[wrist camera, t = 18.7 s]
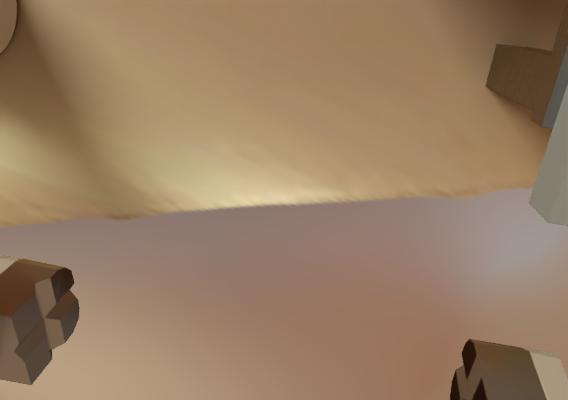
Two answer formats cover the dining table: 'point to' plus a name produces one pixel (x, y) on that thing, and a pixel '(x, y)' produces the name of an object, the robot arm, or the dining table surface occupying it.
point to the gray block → (554, 173)
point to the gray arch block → (533, 76)
